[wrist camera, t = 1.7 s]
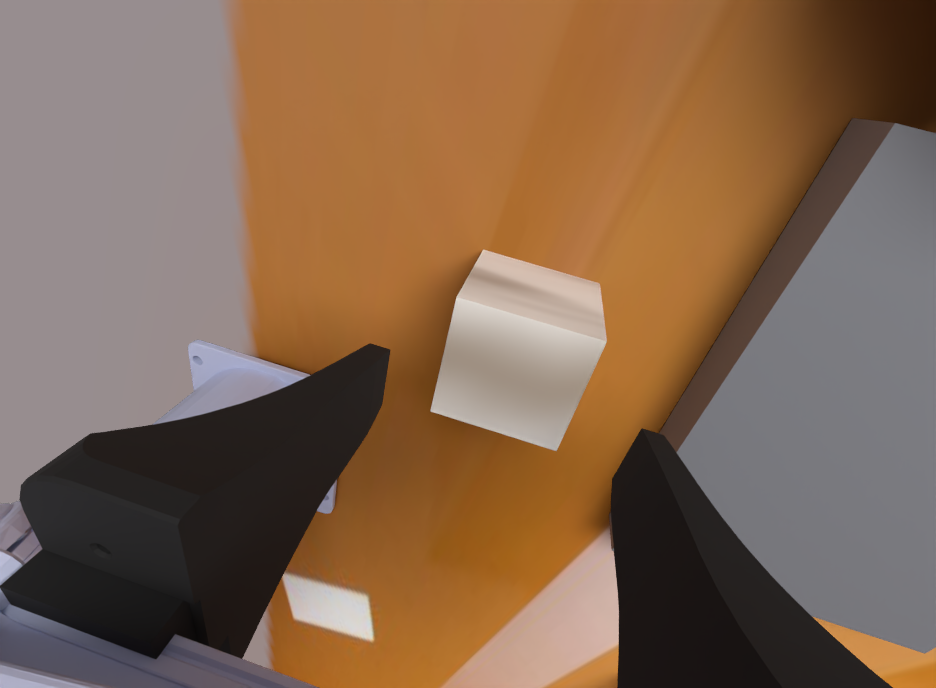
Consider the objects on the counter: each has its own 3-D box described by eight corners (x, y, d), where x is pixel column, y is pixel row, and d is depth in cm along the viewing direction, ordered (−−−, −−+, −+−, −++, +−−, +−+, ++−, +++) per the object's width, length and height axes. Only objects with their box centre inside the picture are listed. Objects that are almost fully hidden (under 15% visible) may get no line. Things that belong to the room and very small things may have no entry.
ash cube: (560, 377, 19) (556, 451, 15) (459, 346, 19) (430, 411, 15) (599, 282, 17) (606, 341, 13) (483, 249, 17) (456, 297, 13)
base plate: (897, 608, 21) (925, 653, 20) (609, 514, 22) (611, 550, 20) (1392, 256, 12) (1531, 285, 10) (852, 117, 13) (895, 122, 11)
